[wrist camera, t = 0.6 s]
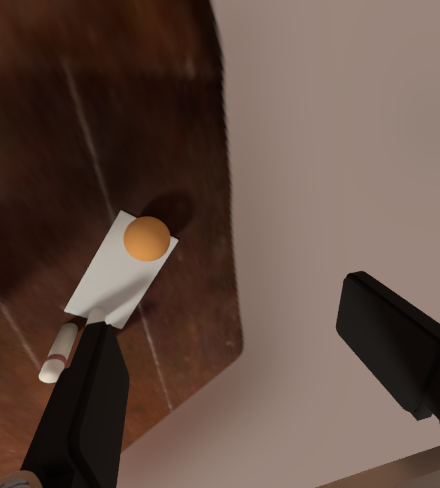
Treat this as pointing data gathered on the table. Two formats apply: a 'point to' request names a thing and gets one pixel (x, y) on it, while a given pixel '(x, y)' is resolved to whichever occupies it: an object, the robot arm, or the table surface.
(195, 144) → the table surface
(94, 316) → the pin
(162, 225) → the ball
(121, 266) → the lane mark
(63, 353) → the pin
